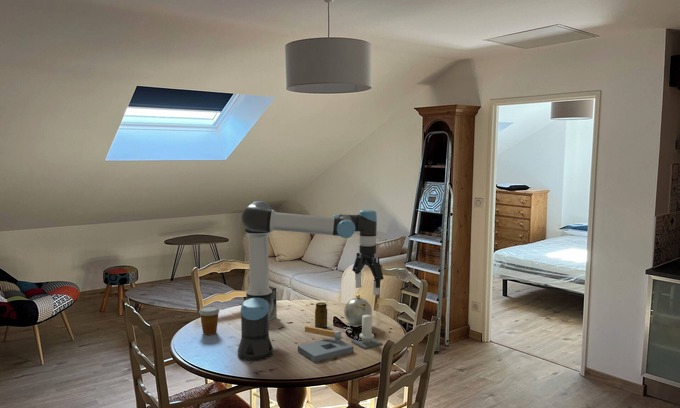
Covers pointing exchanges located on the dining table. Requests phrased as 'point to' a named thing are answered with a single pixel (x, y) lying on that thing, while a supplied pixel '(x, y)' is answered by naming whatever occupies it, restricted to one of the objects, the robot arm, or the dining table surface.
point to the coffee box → (274, 312)
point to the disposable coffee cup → (209, 319)
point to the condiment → (321, 316)
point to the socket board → (325, 349)
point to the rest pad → (367, 345)
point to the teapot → (357, 311)
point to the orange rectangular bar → (323, 332)
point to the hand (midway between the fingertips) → (367, 291)
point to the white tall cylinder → (366, 329)
